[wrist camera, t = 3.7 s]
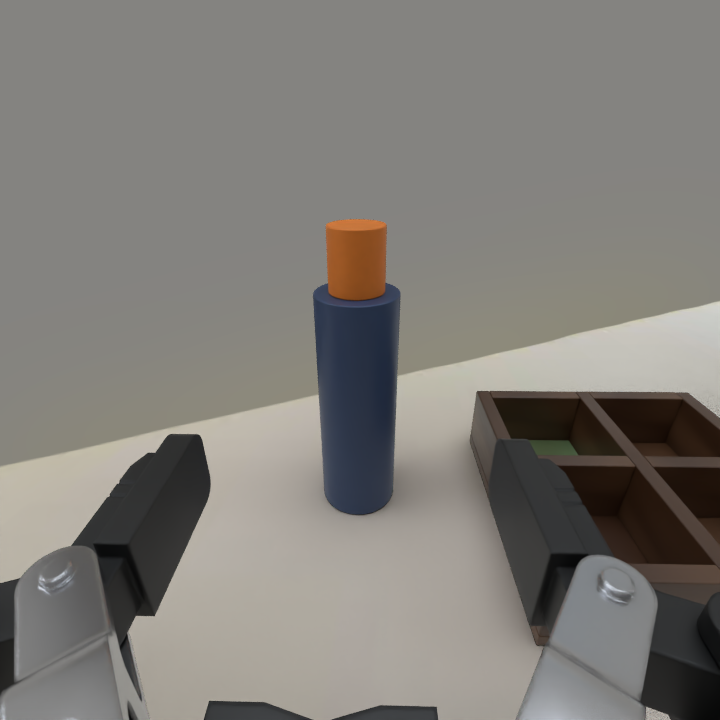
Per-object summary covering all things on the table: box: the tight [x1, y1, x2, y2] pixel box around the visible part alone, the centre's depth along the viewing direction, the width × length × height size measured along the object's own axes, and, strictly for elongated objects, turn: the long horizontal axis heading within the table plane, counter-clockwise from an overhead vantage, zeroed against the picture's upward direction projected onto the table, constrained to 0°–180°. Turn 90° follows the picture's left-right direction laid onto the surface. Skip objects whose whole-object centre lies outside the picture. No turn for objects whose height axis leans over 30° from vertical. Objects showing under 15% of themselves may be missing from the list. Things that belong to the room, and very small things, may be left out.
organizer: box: [470, 391, 720, 645], centre depth 22 cm, size 13×13×4 cm
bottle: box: [313, 219, 400, 514], centre depth 22 cm, size 4×4×15 cm
